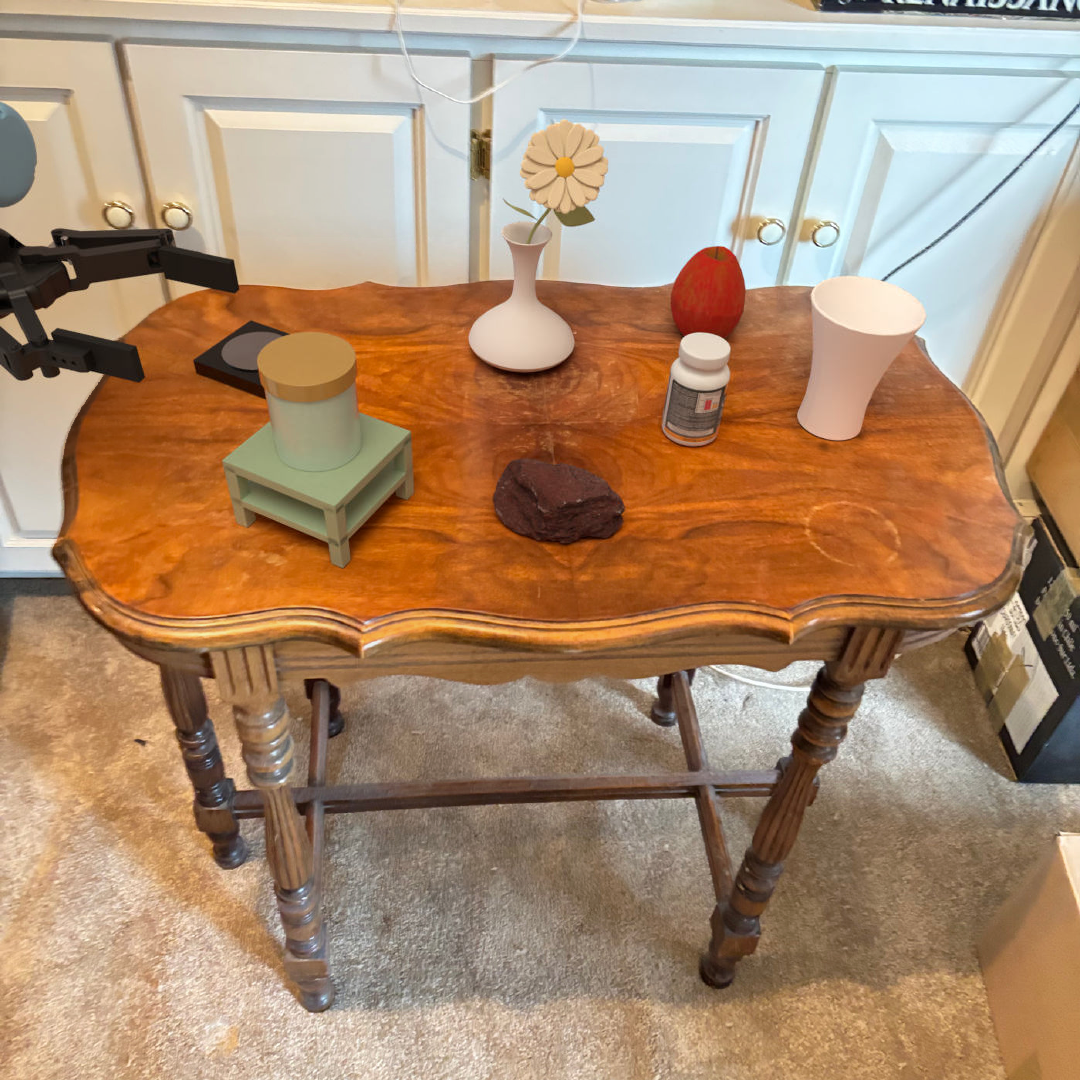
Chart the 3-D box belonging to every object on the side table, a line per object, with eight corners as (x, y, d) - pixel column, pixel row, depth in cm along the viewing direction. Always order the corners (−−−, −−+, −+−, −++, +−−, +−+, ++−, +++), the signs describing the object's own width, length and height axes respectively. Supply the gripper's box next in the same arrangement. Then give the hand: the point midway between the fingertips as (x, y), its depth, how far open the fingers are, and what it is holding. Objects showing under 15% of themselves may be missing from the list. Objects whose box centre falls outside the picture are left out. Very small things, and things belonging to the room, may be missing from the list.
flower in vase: (455, 371, 98) (453, 129, 81) (484, 317, 106) (488, 86, 89) (576, 393, 97) (601, 151, 79) (596, 337, 105) (623, 105, 88)
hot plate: (195, 373, 96) (192, 358, 94) (253, 332, 102) (250, 318, 100) (266, 400, 93) (264, 384, 92) (321, 356, 99) (319, 342, 98)
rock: (612, 561, 83) (596, 494, 88) (639, 516, 79) (621, 448, 84) (496, 551, 80) (486, 481, 85) (518, 502, 75) (506, 432, 80)
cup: (902, 437, 94) (951, 319, 85) (823, 464, 91) (864, 344, 81) (833, 382, 101) (871, 267, 92) (756, 405, 97) (787, 288, 88)
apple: (690, 307, 111) (706, 220, 103) (751, 333, 107) (772, 246, 100) (651, 334, 106) (665, 245, 98) (713, 362, 102) (733, 272, 95)
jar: (254, 455, 76) (236, 366, 70) (309, 408, 81) (297, 322, 75) (329, 485, 74) (317, 396, 68) (381, 435, 79) (374, 348, 73)
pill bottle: (727, 442, 92) (748, 356, 85) (676, 453, 91) (693, 367, 84) (700, 409, 96) (718, 324, 89) (650, 419, 94) (664, 334, 87)
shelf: (236, 523, 80) (221, 460, 75) (314, 453, 88) (305, 391, 83) (342, 568, 77) (334, 506, 72) (414, 492, 84) (411, 430, 80)
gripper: (67, 241, 87) (274, 285, 84) (-146, 388, 70) (104, 451, 66) (41, 161, 82) (261, 204, 78) (-196, 299, 65) (72, 362, 61)
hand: (189, 317), depth 72 cm, fingers open, 13 cm apart
